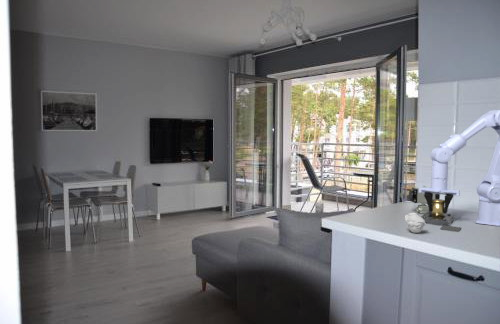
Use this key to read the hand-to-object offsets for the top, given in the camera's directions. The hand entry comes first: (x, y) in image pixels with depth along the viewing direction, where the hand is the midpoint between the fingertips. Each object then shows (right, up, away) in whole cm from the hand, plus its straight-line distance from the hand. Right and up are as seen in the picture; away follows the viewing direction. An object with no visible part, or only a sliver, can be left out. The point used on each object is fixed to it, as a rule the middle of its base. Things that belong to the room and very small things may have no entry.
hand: (437, 212), depth 155 cm
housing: (0, -4, 0) cm, 4 cm away
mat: (-1, -5, -12) cm, 13 cm away
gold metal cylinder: (0, -3, 0) cm, 3 cm away
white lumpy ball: (-17, -5, -17) cm, 25 cm away
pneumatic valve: (+1, -3, +16) cm, 17 cm away
